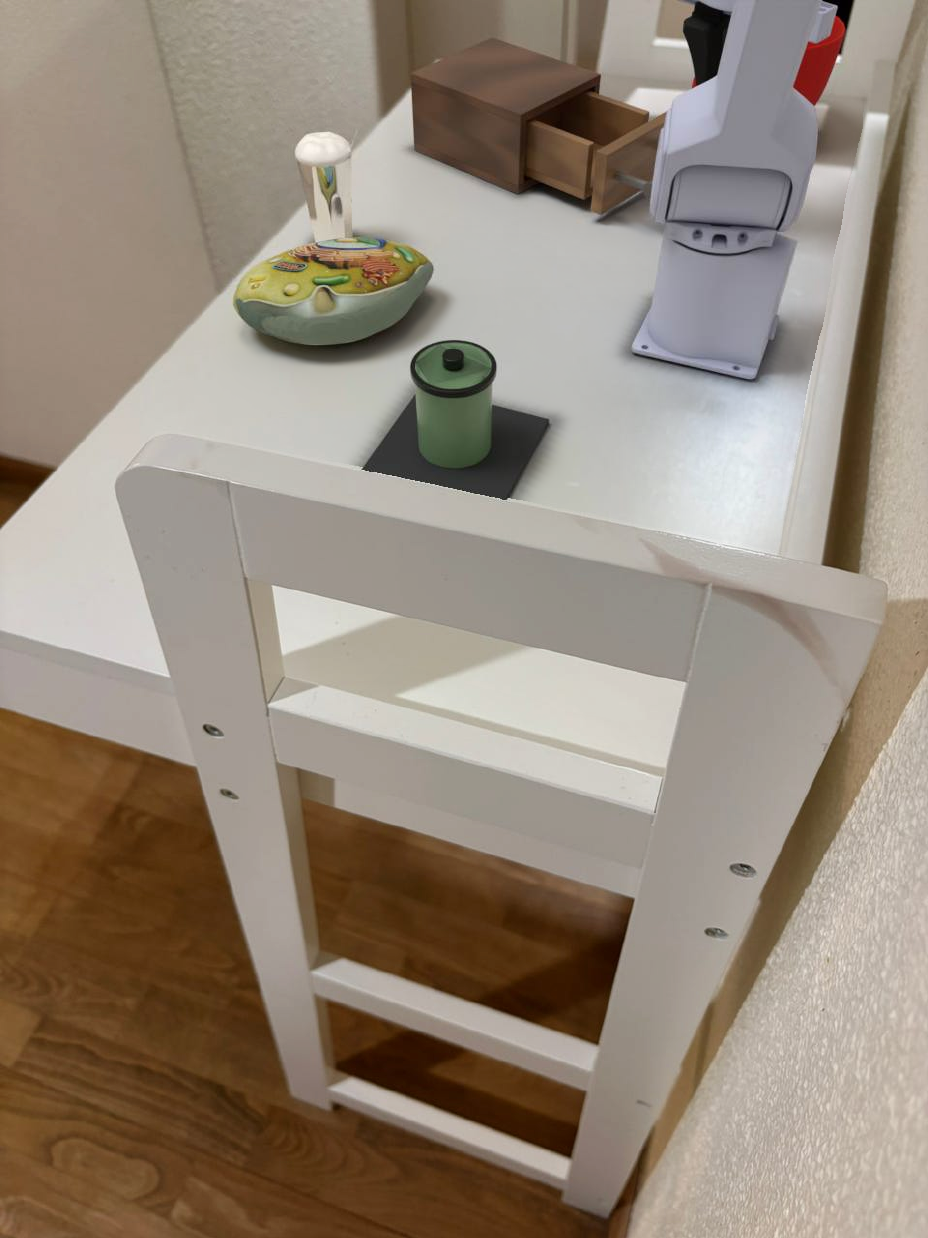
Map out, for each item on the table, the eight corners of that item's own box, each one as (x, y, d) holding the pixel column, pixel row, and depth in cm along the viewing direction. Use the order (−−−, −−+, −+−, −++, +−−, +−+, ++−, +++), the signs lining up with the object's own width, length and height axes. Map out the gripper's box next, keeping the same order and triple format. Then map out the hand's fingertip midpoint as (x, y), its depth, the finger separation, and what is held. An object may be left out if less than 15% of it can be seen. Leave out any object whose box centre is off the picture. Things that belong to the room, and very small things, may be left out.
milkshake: (361, 261, 79) (349, 141, 71) (301, 255, 80) (283, 135, 72) (375, 234, 82) (365, 116, 74) (317, 228, 83) (301, 110, 75)
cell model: (218, 273, 74) (378, 171, 72) (272, 352, 79) (423, 258, 78) (232, 321, 65) (413, 206, 64) (292, 406, 71) (461, 301, 69)
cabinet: (593, 151, 92) (601, 73, 86) (517, 194, 86) (521, 114, 81) (490, 112, 97) (492, 36, 92) (414, 150, 92) (410, 72, 87)
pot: (506, 430, 64) (509, 339, 59) (476, 480, 61) (477, 389, 56) (434, 411, 66) (430, 321, 60) (401, 459, 63) (394, 368, 57)
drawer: (708, 189, 85) (721, 129, 81) (642, 232, 80) (651, 171, 76) (563, 134, 92) (568, 76, 88) (495, 171, 87) (496, 111, 83)
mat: (549, 423, 66) (549, 418, 65) (498, 515, 60) (498, 511, 59) (420, 390, 68) (420, 385, 68) (360, 476, 62) (359, 471, 62)
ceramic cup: (632, 143, 93) (647, 31, 85) (737, 95, 100) (760, -13, 92) (736, 189, 87) (762, 73, 79) (840, 134, 93) (874, 23, 86)
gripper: (879, -81, 63) (821, 126, 74) (700, -119, 69) (669, 77, 80) (828, -56, 60) (775, 157, 70) (645, -98, 66) (621, 103, 77)
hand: (716, 117), depth 75 cm, fingers closed
